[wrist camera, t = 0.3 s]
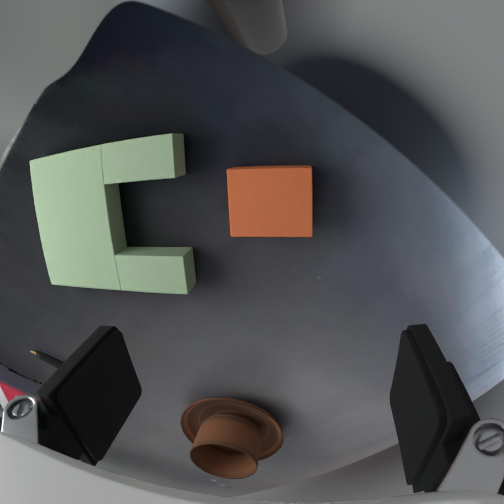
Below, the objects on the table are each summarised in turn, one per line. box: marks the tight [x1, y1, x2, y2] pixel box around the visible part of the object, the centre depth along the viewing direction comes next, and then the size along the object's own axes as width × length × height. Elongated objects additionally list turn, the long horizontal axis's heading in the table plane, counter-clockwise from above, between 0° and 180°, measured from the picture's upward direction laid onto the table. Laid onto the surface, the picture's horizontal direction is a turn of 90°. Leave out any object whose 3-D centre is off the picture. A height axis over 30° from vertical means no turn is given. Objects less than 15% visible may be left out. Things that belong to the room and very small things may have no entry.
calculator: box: [0, 364, 42, 409], centre depth 40 cm, size 11×4×15 cm
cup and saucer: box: [181, 398, 283, 479], centre depth 31 cm, size 12×12×6 cm
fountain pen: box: [31, 351, 63, 368], centre depth 36 cm, size 14×1×2 cm, turn 82°
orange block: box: [227, 165, 312, 237], centre depth 24 cm, size 5×6×2 cm
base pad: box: [30, 133, 196, 294], centre depth 27 cm, size 13×16×2 cm
